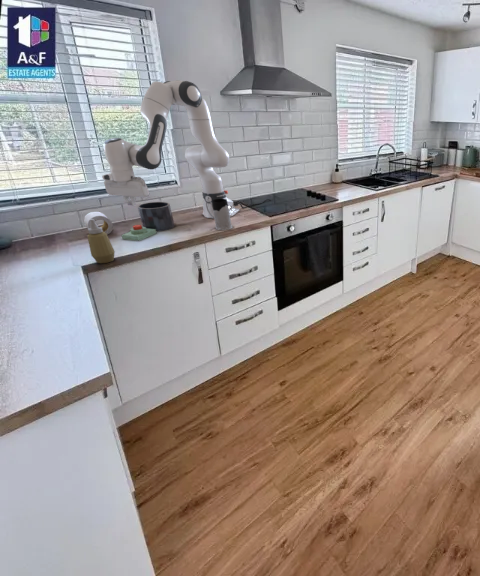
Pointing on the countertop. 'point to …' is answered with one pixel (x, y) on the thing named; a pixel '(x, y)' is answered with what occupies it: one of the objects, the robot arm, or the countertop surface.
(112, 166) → the robot arm
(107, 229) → the toilet paper
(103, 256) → the squeeze bottle
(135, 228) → the button
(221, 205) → the grey and black mug
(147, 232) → the base
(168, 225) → the dark grey round container
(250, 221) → the countertop surface
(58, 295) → the countertop surface
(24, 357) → the countertop surface
